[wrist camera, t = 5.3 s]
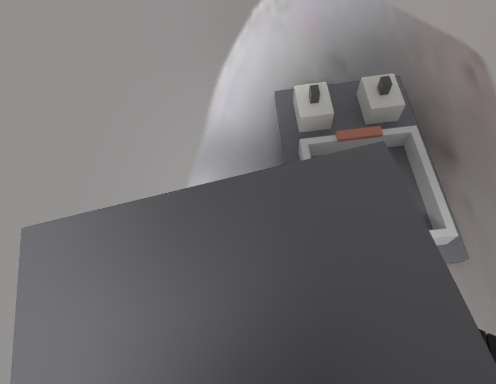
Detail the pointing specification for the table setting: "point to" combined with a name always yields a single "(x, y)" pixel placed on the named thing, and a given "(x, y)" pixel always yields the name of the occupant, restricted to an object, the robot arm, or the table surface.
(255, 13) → the table surface
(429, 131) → the table surface
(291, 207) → the cap
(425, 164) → the panel
